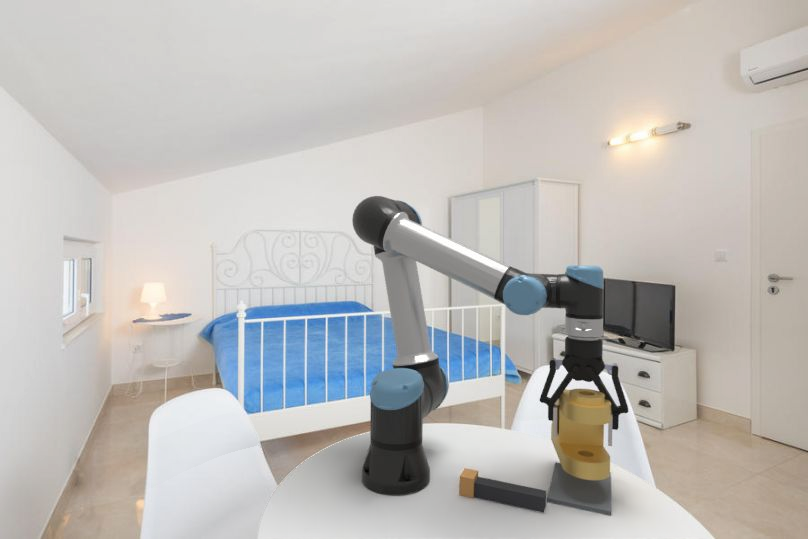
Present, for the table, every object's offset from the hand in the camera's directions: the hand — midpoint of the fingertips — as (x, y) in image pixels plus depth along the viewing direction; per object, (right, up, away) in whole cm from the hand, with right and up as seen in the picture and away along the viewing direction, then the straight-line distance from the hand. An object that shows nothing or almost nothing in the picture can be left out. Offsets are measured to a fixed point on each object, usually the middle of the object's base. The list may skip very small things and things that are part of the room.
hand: (582, 439), depth 99 cm
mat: (0, -11, 0) cm, 11 cm away
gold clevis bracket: (0, -5, +2) cm, 5 cm away
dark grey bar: (-18, -11, -5) cm, 22 cm away
